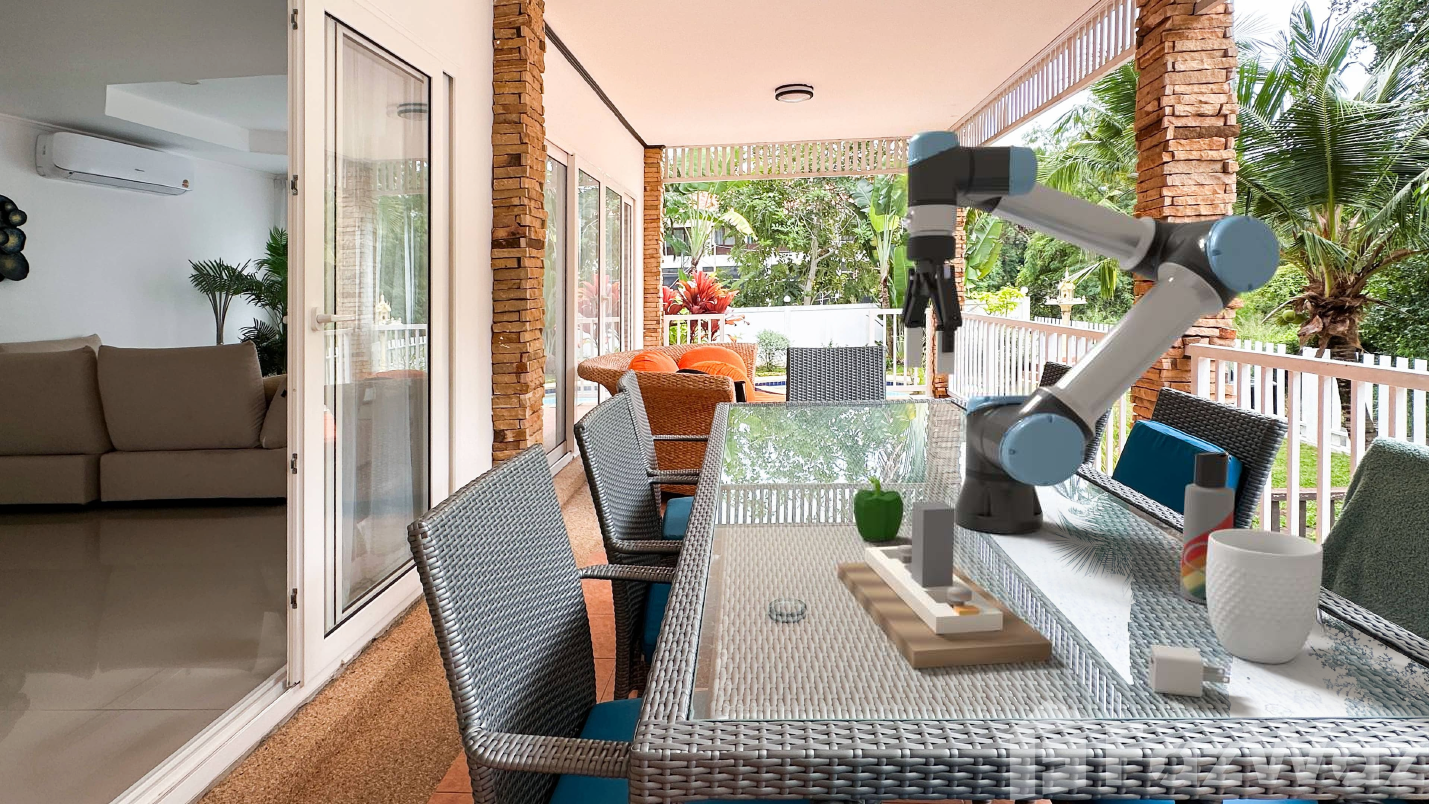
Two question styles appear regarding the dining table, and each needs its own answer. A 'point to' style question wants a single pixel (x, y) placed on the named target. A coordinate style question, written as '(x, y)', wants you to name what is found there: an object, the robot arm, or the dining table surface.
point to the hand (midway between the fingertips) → (928, 370)
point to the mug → (1262, 592)
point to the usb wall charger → (1180, 671)
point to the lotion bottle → (1204, 520)
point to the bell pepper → (878, 513)
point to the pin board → (945, 647)
